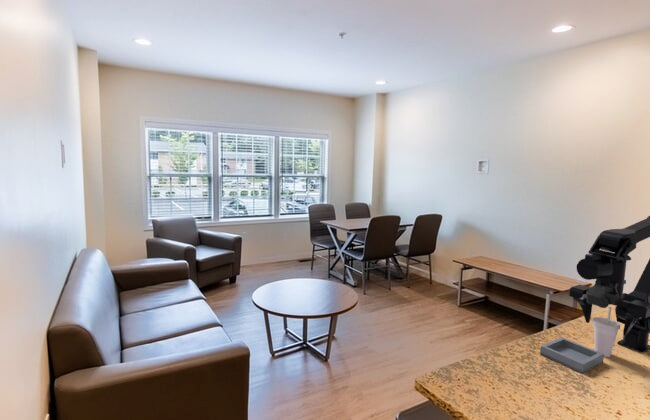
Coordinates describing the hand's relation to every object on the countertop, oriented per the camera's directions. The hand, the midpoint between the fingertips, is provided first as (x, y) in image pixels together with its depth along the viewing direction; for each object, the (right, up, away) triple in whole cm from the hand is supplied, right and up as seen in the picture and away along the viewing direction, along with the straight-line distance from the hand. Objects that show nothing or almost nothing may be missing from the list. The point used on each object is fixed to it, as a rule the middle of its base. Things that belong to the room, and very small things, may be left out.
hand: (605, 328), depth 104 cm
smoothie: (0, -8, +1) cm, 8 cm away
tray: (-11, -8, -2) cm, 14 cm away
